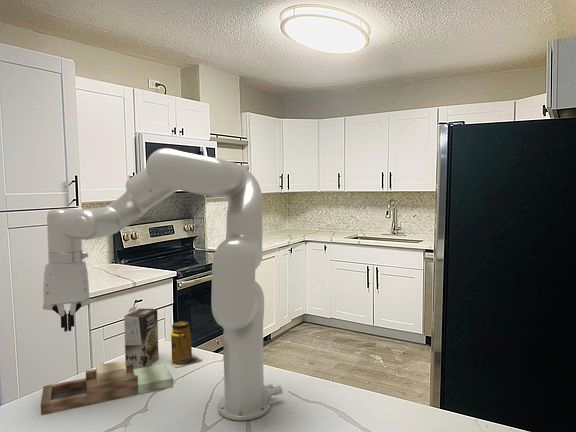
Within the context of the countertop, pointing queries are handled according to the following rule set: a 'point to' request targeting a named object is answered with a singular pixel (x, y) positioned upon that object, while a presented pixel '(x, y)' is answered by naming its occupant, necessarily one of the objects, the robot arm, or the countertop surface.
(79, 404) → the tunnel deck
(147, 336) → the coffee box
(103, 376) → the birch block
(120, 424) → the countertop surface
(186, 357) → the condiment
